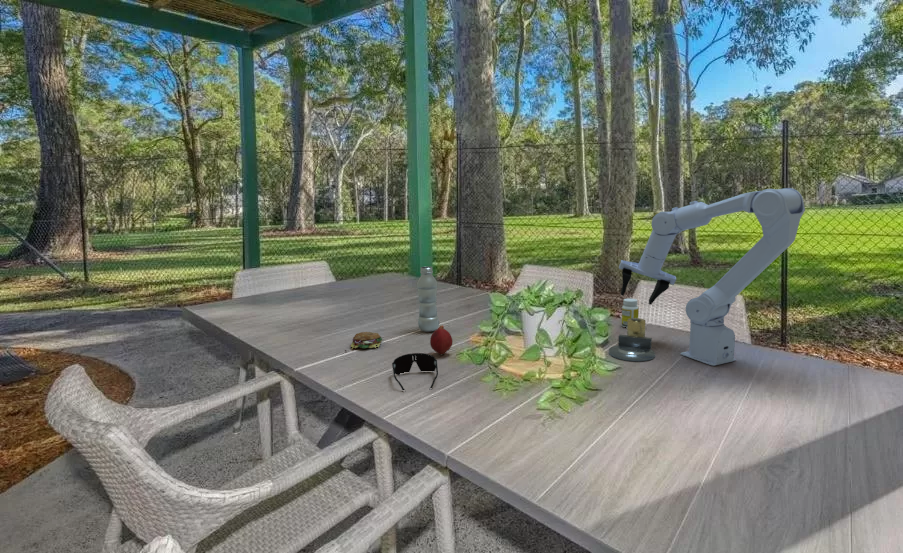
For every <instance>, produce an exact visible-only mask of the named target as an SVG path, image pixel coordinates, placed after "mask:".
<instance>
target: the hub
mask: <svg viewBox="0 0 903 553" xmlns="http://www.w3.org/2000/svg"><path fill="white" fill-rule="evenodd" d="M646 323H647V322H646V319H644V318H639V317H638V318H630V319H628V325H627V328H626V329H627V330H626V331H627V332H626V335H629V336H638V337H646Z"/></svg>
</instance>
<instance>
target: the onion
mask: <svg viewBox="0 0 903 553" xmlns="http://www.w3.org/2000/svg"><path fill="white" fill-rule="evenodd" d="M444 327H445V326H444V325H443V324H442V325H441V324H440V325H439V326H438V328H437V330H435V331H432V333H431V336H430V338H429V339H430V341H429V344H430V347H431V349H432V350H433V351H435V352H436V353H438V354H439V355H441V354H443V355H445V354H446V353H447V352H448V351H449V350H450V349H451V347H452V346H453V337H452V334H451V333H450V332H449V331H448V330H447V329H445V328H444Z"/></svg>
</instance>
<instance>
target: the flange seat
mask: <svg viewBox="0 0 903 553" xmlns="http://www.w3.org/2000/svg"><path fill="white" fill-rule="evenodd" d="M652 342H653V341H652V337H647V336H645V337H638V336H629V335H627V334H619V335H618V342H617V343H618V345H613V346H611V347H610V348H608V354H609V356H610V357H612V358H614V359H615V360H616V359H617V360H621V361H625V362H633V363H634V362H635V363H641V362H649V361H652V360H654V359H655V358H656V352H655V351H654V350H653V349H652Z"/></svg>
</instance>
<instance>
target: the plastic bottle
mask: <svg viewBox="0 0 903 553" xmlns="http://www.w3.org/2000/svg"><path fill="white" fill-rule="evenodd" d="M419 273H420V277H419V278H418V280H417V283H416V288H417V289H416V290H417V295H418V301H419V302H418V304H419V308H418V310H419V311H418V312H419V313H418V319H417V320H418V321H417V325H418V329H419V330H420V332H421V331H422V332H427V333H428V332H434V331H435V330H437V329H438V328H439V327H440V325H439V324H440V320H439V315H438V310H437V309H438V308H437V294H438V281H437V279H436V277H434V275H433V273H434V271H433V266H421V267H420V272H419Z"/></svg>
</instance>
